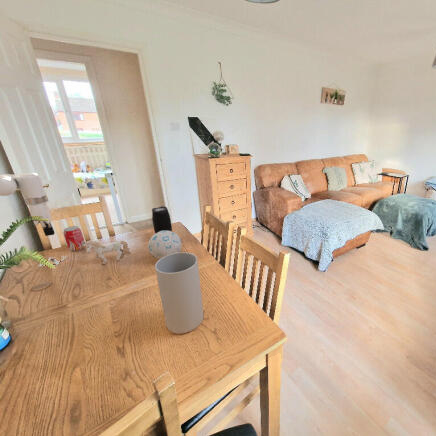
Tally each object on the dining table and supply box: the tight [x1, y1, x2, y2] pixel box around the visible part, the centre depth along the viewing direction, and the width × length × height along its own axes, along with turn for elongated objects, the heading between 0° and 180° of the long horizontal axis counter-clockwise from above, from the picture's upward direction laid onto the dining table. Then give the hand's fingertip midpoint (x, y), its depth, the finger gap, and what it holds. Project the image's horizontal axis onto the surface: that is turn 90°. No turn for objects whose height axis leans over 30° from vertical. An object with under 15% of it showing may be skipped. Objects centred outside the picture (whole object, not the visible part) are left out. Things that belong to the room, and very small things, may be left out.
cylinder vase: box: [154, 251, 205, 335], centre depth 82 cm, size 12×12×25 cm
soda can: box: [62, 225, 86, 252], centre depth 125 cm, size 7×7×12 cm
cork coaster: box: [30, 280, 52, 292], centre depth 99 cm, size 6×6×1 cm
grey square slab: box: [37, 255, 68, 268], centre depth 116 cm, size 8×8×2 cm
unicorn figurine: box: [79, 239, 132, 265], centre depth 115 cm, size 7×20×13 cm, turn 142°
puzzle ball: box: [147, 230, 183, 260], centre depth 121 cm, size 15×15×15 cm
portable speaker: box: [151, 206, 173, 234], centre depth 139 cm, size 9×9×20 cm
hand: (50, 234), depth 119 cm, fingers closed
